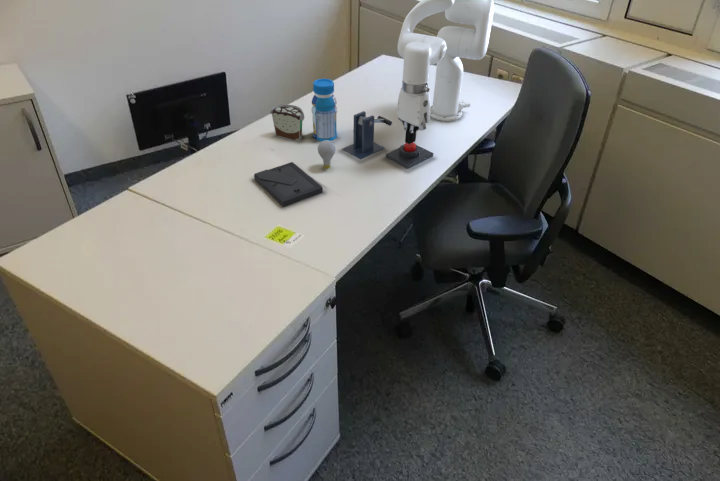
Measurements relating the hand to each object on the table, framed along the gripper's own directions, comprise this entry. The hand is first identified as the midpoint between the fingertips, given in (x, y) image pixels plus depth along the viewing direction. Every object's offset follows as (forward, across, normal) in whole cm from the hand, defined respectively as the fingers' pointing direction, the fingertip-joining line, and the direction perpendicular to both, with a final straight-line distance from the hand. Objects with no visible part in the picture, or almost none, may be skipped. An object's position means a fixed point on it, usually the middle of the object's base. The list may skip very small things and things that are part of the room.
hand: (410, 141), depth 172 cm
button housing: (+6, 0, 0) cm, 6 cm away
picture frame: (+7, +14, +39) cm, 41 cm away
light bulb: (+7, +13, +24) cm, 28 cm away
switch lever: (-2, +14, +3) cm, 14 cm away
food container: (+7, +38, +18) cm, 43 cm away
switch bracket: (+6, +14, +7) cm, 17 cm away
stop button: (+3, 0, 0) cm, 3 cm away
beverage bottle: (+7, +29, +11) cm, 32 cm away
